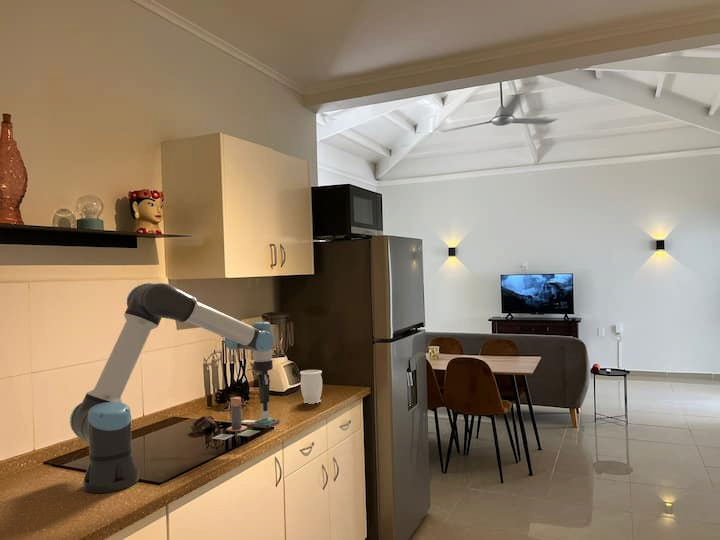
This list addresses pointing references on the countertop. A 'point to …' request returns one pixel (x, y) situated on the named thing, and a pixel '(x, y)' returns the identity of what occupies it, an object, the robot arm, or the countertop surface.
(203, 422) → the dark brown rock
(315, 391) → the jar
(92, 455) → the robot arm
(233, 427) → the marker
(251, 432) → the colouring board
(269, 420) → the button
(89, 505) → the countertop surface
